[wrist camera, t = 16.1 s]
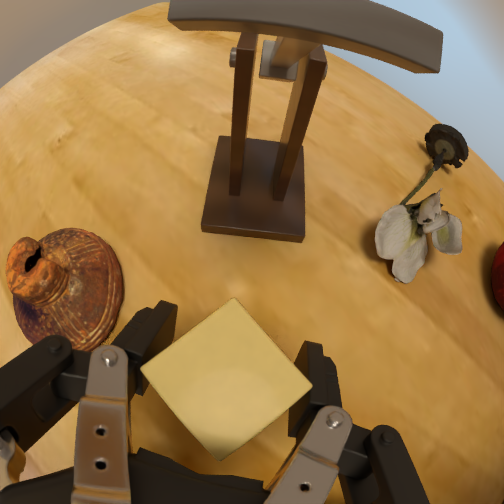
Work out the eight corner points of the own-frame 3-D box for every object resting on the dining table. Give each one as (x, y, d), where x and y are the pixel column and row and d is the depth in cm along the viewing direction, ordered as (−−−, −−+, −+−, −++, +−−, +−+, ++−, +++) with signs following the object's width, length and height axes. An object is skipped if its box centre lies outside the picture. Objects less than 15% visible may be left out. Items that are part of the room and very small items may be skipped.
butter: (230, 329, 16) (234, 295, 9) (275, 380, 15) (314, 385, 8) (175, 370, 15) (138, 367, 8) (221, 424, 14) (219, 463, 7)
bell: (8, 286, 21) (-36, 259, 15) (88, 213, 25) (57, 168, 19) (58, 385, 19) (7, 383, 12) (152, 301, 23) (125, 271, 16)
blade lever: (438, 93, 5) (445, 15, 4) (162, 41, 5) (178, -42, 4) (322, 88, 17) (326, 57, 16) (226, 75, 17) (230, 43, 16)
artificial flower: (454, 182, 34) (504, 161, 24) (380, 295, 29) (448, 295, 19) (419, 133, 34) (466, 102, 24) (330, 232, 28) (390, 207, 19)
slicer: (301, 243, 26) (374, 103, 12) (201, 232, 26) (183, 75, 11) (300, 153, 30) (340, 26, 16) (219, 143, 30) (222, 9, 16)
